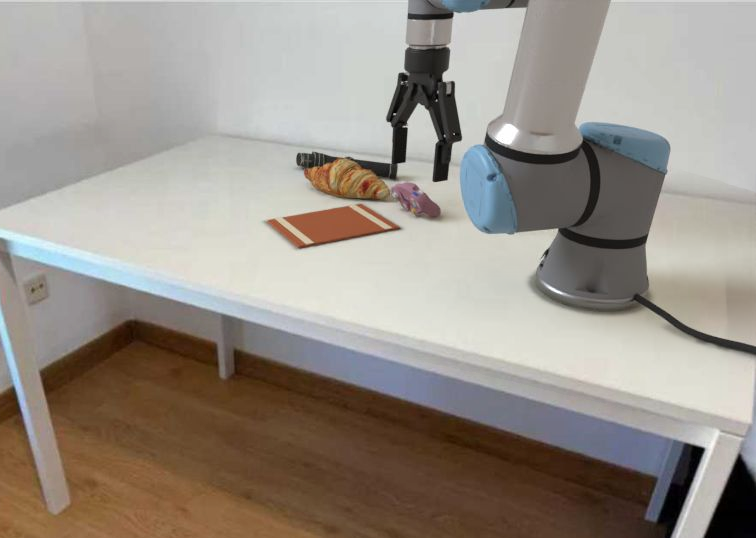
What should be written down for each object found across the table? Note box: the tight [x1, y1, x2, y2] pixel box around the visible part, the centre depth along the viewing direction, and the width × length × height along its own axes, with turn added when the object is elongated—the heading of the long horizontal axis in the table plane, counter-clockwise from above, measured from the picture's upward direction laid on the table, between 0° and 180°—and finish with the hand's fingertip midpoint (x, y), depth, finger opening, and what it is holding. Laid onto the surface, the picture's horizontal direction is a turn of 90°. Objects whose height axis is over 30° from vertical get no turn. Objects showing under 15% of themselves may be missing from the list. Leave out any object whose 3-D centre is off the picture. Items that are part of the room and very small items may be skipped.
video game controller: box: [390, 180, 442, 219], centre depth 129 cm, size 10×5×7 cm, turn 25°
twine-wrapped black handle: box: [295, 150, 399, 180], centre depth 152 cm, size 4×5×25 cm
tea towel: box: [267, 203, 400, 249], centre depth 126 cm, size 14×20×1 cm
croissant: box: [303, 157, 391, 200], centre depth 140 cm, size 21×10×8 cm, turn 51°
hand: (418, 171), depth 126 cm, fingers open, 13 cm apart
